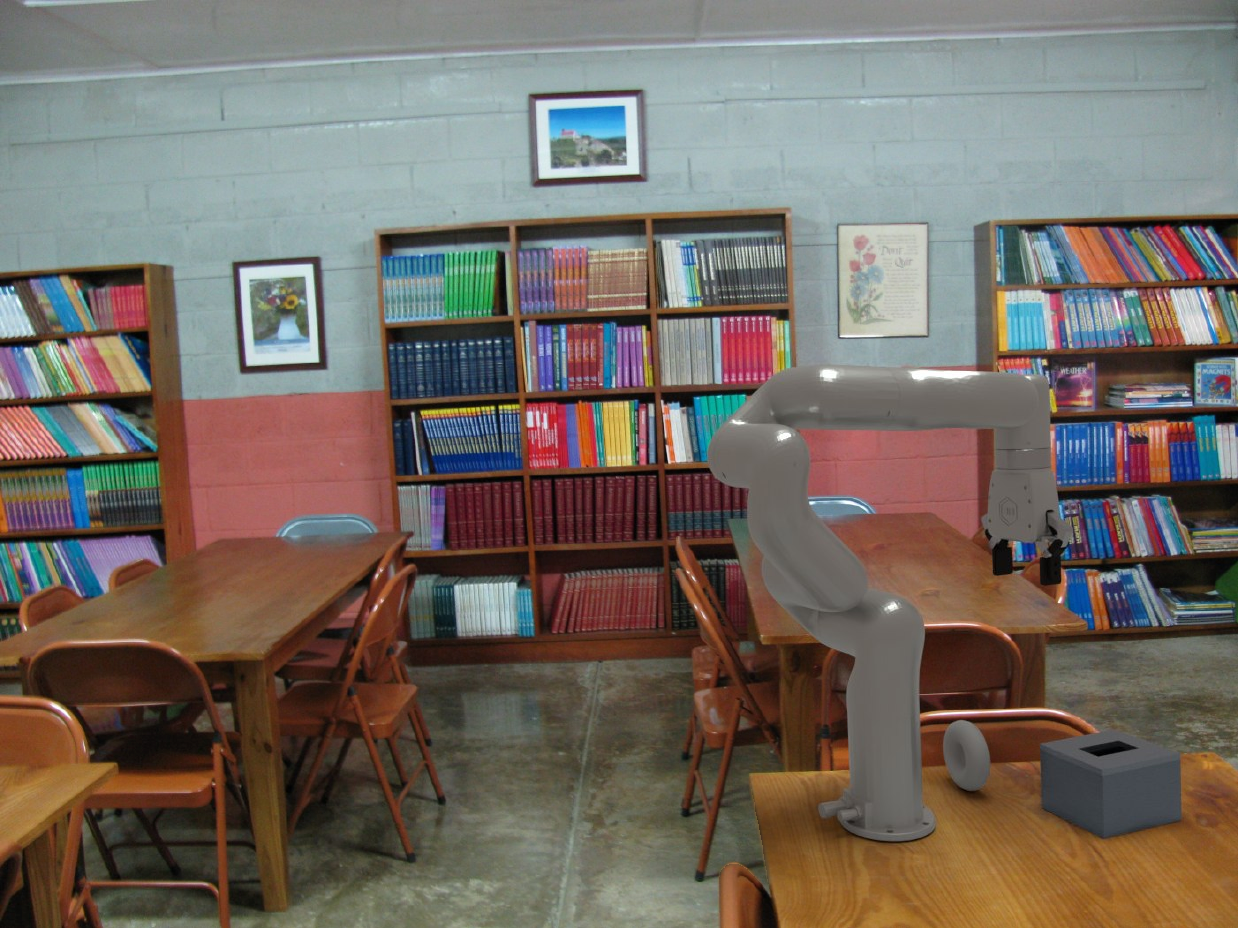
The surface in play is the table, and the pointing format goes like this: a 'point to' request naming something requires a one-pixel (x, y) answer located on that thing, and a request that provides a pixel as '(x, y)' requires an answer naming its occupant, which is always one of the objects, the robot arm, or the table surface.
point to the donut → (966, 755)
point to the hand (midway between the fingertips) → (1026, 579)
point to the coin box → (1111, 782)
